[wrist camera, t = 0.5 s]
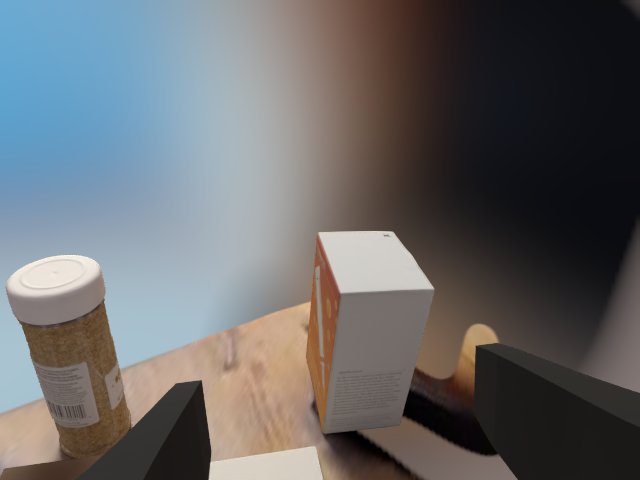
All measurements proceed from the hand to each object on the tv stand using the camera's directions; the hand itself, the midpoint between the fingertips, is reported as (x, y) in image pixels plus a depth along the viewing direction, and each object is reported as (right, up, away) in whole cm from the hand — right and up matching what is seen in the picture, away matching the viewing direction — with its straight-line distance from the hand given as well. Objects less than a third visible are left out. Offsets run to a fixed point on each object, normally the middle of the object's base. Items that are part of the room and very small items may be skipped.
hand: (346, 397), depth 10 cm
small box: (+2, -9, +24) cm, 25 cm away
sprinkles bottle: (-16, -10, +18) cm, 27 cm away
